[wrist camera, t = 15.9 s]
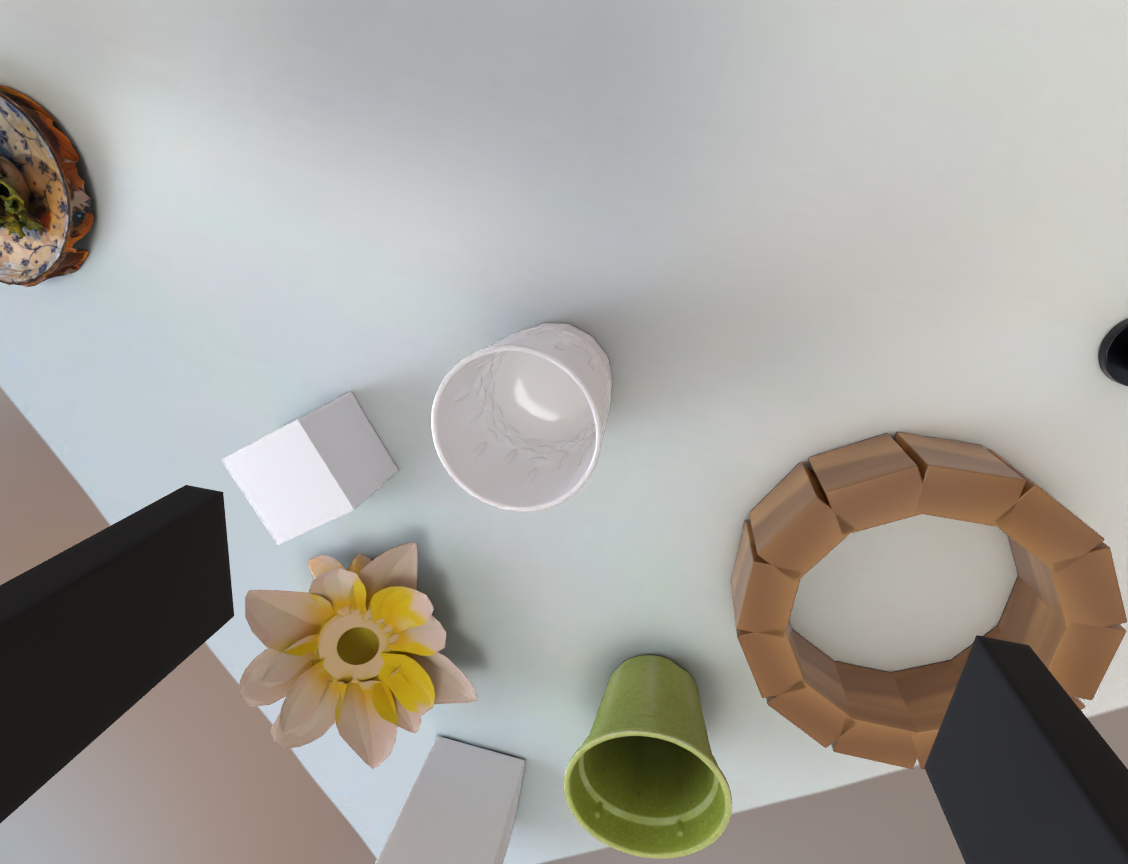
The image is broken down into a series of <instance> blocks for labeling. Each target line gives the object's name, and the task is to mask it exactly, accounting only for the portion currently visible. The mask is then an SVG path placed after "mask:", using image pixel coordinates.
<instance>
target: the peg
mask: <svg viewBox="0 0 1128 864" xmlns="http://www.w3.org/2000/svg"><path fill="white" fill-rule="evenodd" d="M1099 363H1100V366H1101V368H1102V370H1103V372H1104V373H1105V374H1106V375H1107V376H1108V377H1109V378H1110V379H1112V380H1113V381H1115V382H1118V383H1120V384H1123V385H1126V386H1128V319H1127V320H1125V321H1123V322H1121V323H1120V324H1118V325H1117V326H1116V327H1114V328H1113V329H1112V330H1111V331H1110V332H1109V333H1108V334H1107V336H1106V337H1105V339H1104V340H1103V342H1102V344H1101V347H1100V351H1099Z"/></svg>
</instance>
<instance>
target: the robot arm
mask: <svg viewBox="0 0 1128 864" xmlns="http://www.w3.org/2000/svg"><path fill="white" fill-rule="evenodd" d="M233 616H234V610H233V599H232V587H231V576H230V565H229V554H228V542H227V531H226V520H225V509H224V498H223V492H220V491H214V490H209V489H204V488H199V487H193V486H188V485H185V486H183V487H182V488H180V489H178V490H176V491H174V492H172V493H171V494H169V495H167V496H165V497H163V498H161V499H159V500H158V501H156V502H154V503H152V504H150V505H148V506H146V507H145V508H143V509H141V510H139V511H137V512H135V513H134V514H132V515H130V516H128V517H126V518H124V519H122V520H121V521H119V522H117V523H115V524H113V525H111V526H110V527H108V528H106V529H104V530H102V531H101V532H98V533H97V534H95V535H93V536H91V537H89V538H87V539H85V540H84V541H82V542H80V543H78V544H76V545H74V546H73V547H71V548H69V549H67V550H65V551H63V552H61V553H60V554H58V555H56V556H54V557H53V558H51V559H48V560H47V561H45V562H43V563H41V564H39V565H37V566H36V567H34V568H32V569H30V570H28V571H26V572H24V573H23V574H21V575H19V576H17V577H15V578H13V579H11V580H10V581H8V582H6V583H4V584H2V585H0V823H1V822H2V821H3V820H5V819H6V818H7V817H8V816H9V815H10V814H11V813H12V812H14V811H15V810H16V809H17V808H18V807H19V806H20V805H22V804H23V803H24V802H25V801H26V800H27V799H28V798H29V797H30V796H32V795H33V794H34V793H35V792H36V791H37V790H38V789H40V788H41V787H42V786H43V785H44V784H45V783H46V782H47V781H48V780H50V779H51V778H52V777H53V776H54V775H55V774H56V773H58V772H59V771H60V770H61V769H62V768H63V767H64V766H65V765H67V764H68V763H69V762H70V761H71V760H72V759H73V758H74V757H75V756H77V755H78V754H79V753H80V752H81V751H82V750H84V749H85V748H86V747H87V746H88V745H89V744H90V743H91V742H92V741H94V740H95V739H96V738H97V737H98V736H99V735H100V734H102V733H103V732H104V731H105V730H106V729H107V728H108V727H109V726H111V725H112V724H113V723H114V722H115V721H116V720H117V719H118V718H120V717H121V716H122V715H123V714H124V713H125V712H126V711H127V710H129V709H130V708H131V707H132V706H133V705H134V704H135V703H136V702H138V701H139V700H140V699H141V698H142V697H143V696H144V695H146V694H147V693H148V692H149V691H150V690H151V689H152V688H153V687H155V686H156V685H157V684H158V683H159V682H160V681H161V680H162V679H164V678H165V677H166V676H167V675H168V674H169V673H170V672H171V671H173V670H174V669H175V668H176V667H177V666H178V665H179V664H180V663H181V662H183V661H184V660H185V659H186V658H187V657H188V656H189V655H191V654H192V653H193V652H194V651H195V650H196V649H197V648H198V647H200V646H201V645H202V644H203V643H204V642H205V641H206V640H208V639H209V638H210V637H211V636H212V635H213V634H214V633H215V632H217V631H218V630H219V629H220V628H221V627H222V626H223V625H224V624H226V623H227V622H228V621H229V620H230V619H231V618H232V617H233ZM924 768H925V770H926V772H927V775H928V777H929V779H930V782H931V784H932V786H933V788H934V791H935V793H936V795H937V798H938V800H939V802H940V805H941V807H942V809H943V812H944V814H945V816H946V819H947V821H948V823H949V826H950V828H951V830H952V833H953V835H954V837H955V840H956V842H957V844H958V846H959V849H960V851H961V854H962V856H963V858H964V861H965V863H966V864H1128V769H1127V768H1126V767H1125V766H1124V764H1123V763H1122V762H1121V760H1120V759H1119V758H1118V757H1117V755H1116V754H1115V753H1114V752H1113V751H1112V749H1111V748H1110V747H1109V745H1108V744H1107V743H1106V742H1105V740H1104V739H1103V738H1102V737H1101V735H1100V734H1099V733H1098V731H1097V730H1096V729H1095V728H1094V727H1093V725H1092V724H1091V723H1090V721H1089V720H1088V719H1087V718H1086V716H1085V715H1084V714H1083V713H1082V711H1081V710H1080V709H1079V708H1078V706H1077V705H1076V704H1075V703H1074V701H1073V700H1072V699H1071V697H1070V696H1069V695H1068V694H1067V692H1066V691H1065V690H1064V689H1063V687H1062V686H1061V685H1060V684H1059V682H1058V681H1057V680H1056V679H1055V677H1054V676H1053V675H1052V674H1051V672H1050V671H1049V670H1048V669H1047V667H1046V666H1045V665H1044V663H1043V662H1042V661H1041V660H1040V658H1039V657H1038V656H1037V655H1036V653H1035V652H1034V651H1033V650H1032V648H1031V647H1030V646H1029V645H1025V644H1020V643H1014V642H1009V641H1004V640H999V639H993V638H988V637H983V636H978V635H977V636H976V638H975V641H974V643H973V646H972V648H971V651H970V653H969V656H968V658H967V661H966V663H965V666H964V668H963V671H962V673H961V676H960V678H959V681H958V683H957V686H956V688H955V691H954V693H953V696H952V698H951V701H950V704H949V706H948V709H947V711H946V714H945V716H944V719H943V721H942V724H941V726H940V729H939V731H938V734H937V736H936V739H935V741H934V744H933V746H932V749H931V751H930V754H929V756H928V759H927V761H926V764H925V766H924Z"/></svg>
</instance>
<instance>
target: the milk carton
mask: <svg viewBox="0 0 1128 864" xmlns="http://www.w3.org/2000/svg"><path fill="white" fill-rule="evenodd" d="M524 767H525V761H524V760H521V759H518V758H514V757H511V756H507V755H504V754H500V753H497V752H493V751H490V750H486V749H482V748H479V747H475V746H472V745H468V744H465V743H461V742H457V741H454V740H450V739H447V738H443V737H439V736H437V737H436V739H435V741H434V743H433V745H432V747H431V749H430V751H429V753H428V755H427V757H426V759H425V761H424V763H423V765H422V768H421V770H420V772H419V774H418V776H417V778H416V780H415V782H414V784H413V786H412V788H411V790H410V792H409V795H408V797H407V799H406V801H405V803H404V805H403V807H402V809H401V811H400V813H399V815H398V817H397V819H396V822H395V824H394V826H393V828H392V830H391V832H390V834H389V836H388V838H387V840H386V842H385V844H384V846H383V848H382V851H381V853H380V855H379V857H378V859H377V861H376V863H375V864H503V861H504V858H505V854H506V851H507V847H508V844H509V840H510V837H511V833H512V830H513V826H514V822H515V817H516V811H517V806H518V800H519V795H520V789H521V783H522V778H523V772H524Z"/></svg>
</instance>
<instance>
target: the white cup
mask: <svg viewBox="0 0 1128 864" xmlns="http://www.w3.org/2000/svg"><path fill="white" fill-rule="evenodd" d="M612 384H613V380H612V375H611V370H610V365H609V361H608V357H607V355H606V354H605V353H604V351H603V350H602V349H601V347H600V346H599V345H598V343H597V342H596V341H595V339H594V338H593V337H592V336H591V335H589V334H587V333H585V332H583V331H581V330H579V329H577V328H575V327H574V326H572V325H570V324H554V323H542V324H540V325H538V326H535V327H533V328H530V329H525V330H522V331H519V332H517V333H514V334H512V335H510V336H507V337H505V338H502V339H500V340H498V341H497V342H495V343H493V344H491V345H489V346H487V347H485V348H483V349H481V350H479V351H477V352H475V353H473V354H471V355H469V356H467V357H466V358H464V359H463V360H461V361H460V362H459V363H457V364H456V365H455V366H454V367H453V368H452V369H451V370H450V371H449V373H448V374H447V375H446V376H445V378H444V379H443V381H442V383H441V384H440V386H439V388H438V390H437V393H436V396H435V399H434V402H433V407H432V414H431V428H432V436H433V441H434V444H435V448H436V450H437V453H438V455H439V458H440V460H441V462H442V463H443V465H444V467H445V468H446V470H447V471H448V473H449V474H450V475H451V477H452V478H453V479H454V480H455V481H456V482H457V483H458V484H459V485H460V486H461V487H462V488H463V489H464V490H465V491H467V492H468V493H469V494H471V495H472V496H474V497H475V498H477V499H479V500H480V501H482V502H484V503H487V504H489V505H491V506H494V507H497V508H501V509H505V510H510V511H521V512H526V511H537V510H542V509H546V508H549V507H552V506H555V505H557V504H559V503H561V502H563V501H565V500H567V499H568V498H570V497H571V496H572V495H574V494H575V493H576V492H577V491H578V490H579V489H580V488H581V487H582V486H583V485H584V484H585V483H586V481H587V480H588V479H589V477H590V475H591V474H592V472H593V470H594V468H595V466H596V463H597V461H598V458H599V454H600V449H601V445H602V440H603V436H604V432H605V428H606V423H607V419H608V415H609V408H610V401H611V388H612Z"/></svg>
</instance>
